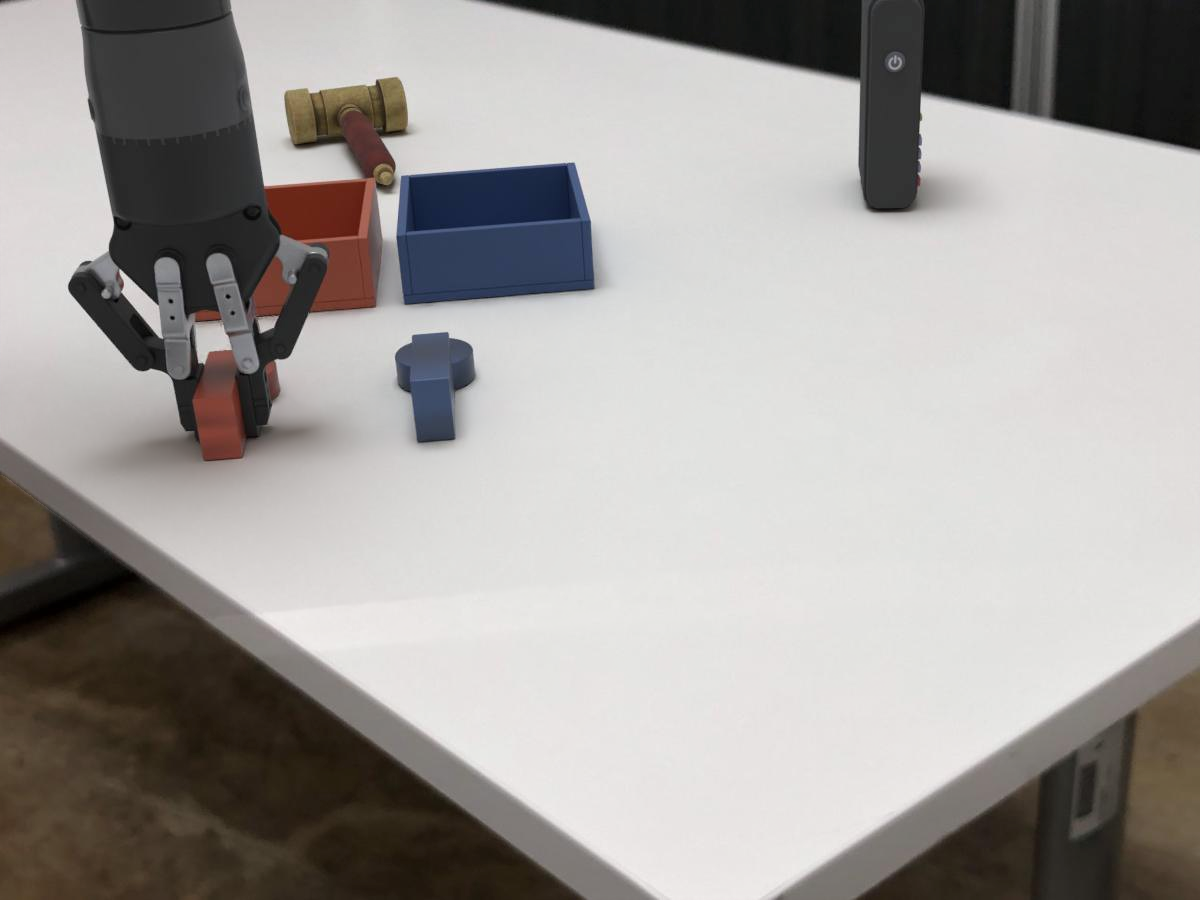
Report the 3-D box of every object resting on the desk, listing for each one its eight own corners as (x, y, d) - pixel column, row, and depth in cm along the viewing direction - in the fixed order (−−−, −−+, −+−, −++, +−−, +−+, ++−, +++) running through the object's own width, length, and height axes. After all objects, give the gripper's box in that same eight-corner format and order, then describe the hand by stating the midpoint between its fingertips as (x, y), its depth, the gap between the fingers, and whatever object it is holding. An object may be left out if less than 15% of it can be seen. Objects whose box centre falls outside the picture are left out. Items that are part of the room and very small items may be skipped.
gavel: (448, 143, 121) (319, 161, 119) (453, 199, 123) (326, 217, 121) (395, 70, 138) (281, 84, 136) (400, 120, 141) (288, 135, 138)
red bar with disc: (265, 455, 81) (255, 394, 80) (179, 463, 81) (167, 401, 79) (283, 375, 90) (274, 319, 89) (206, 382, 90) (196, 325, 89)
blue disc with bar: (478, 437, 82) (472, 375, 80) (393, 444, 82) (386, 383, 80) (474, 359, 91) (469, 303, 90) (398, 366, 91) (391, 309, 89)
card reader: (921, 212, 111) (930, -5, 104) (863, 214, 111) (868, -3, 104) (911, 174, 119) (918, -29, 112) (857, 176, 119) (861, -27, 112)
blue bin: (404, 304, 100) (396, 235, 98) (407, 238, 112) (400, 175, 110) (594, 288, 100) (590, 219, 98) (578, 224, 112) (574, 162, 110)
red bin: (182, 322, 99) (169, 253, 97) (209, 254, 111) (198, 191, 109) (375, 306, 100) (367, 237, 98) (382, 240, 111) (375, 177, 109)
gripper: (321, 84, 80) (362, 393, 88) (46, 104, 79) (112, 414, 87) (310, 121, 73) (355, 452, 81) (10, 143, 72) (84, 476, 80)
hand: (229, 431), depth 84 cm, fingers closed on red bar with disc, 2 cm apart
